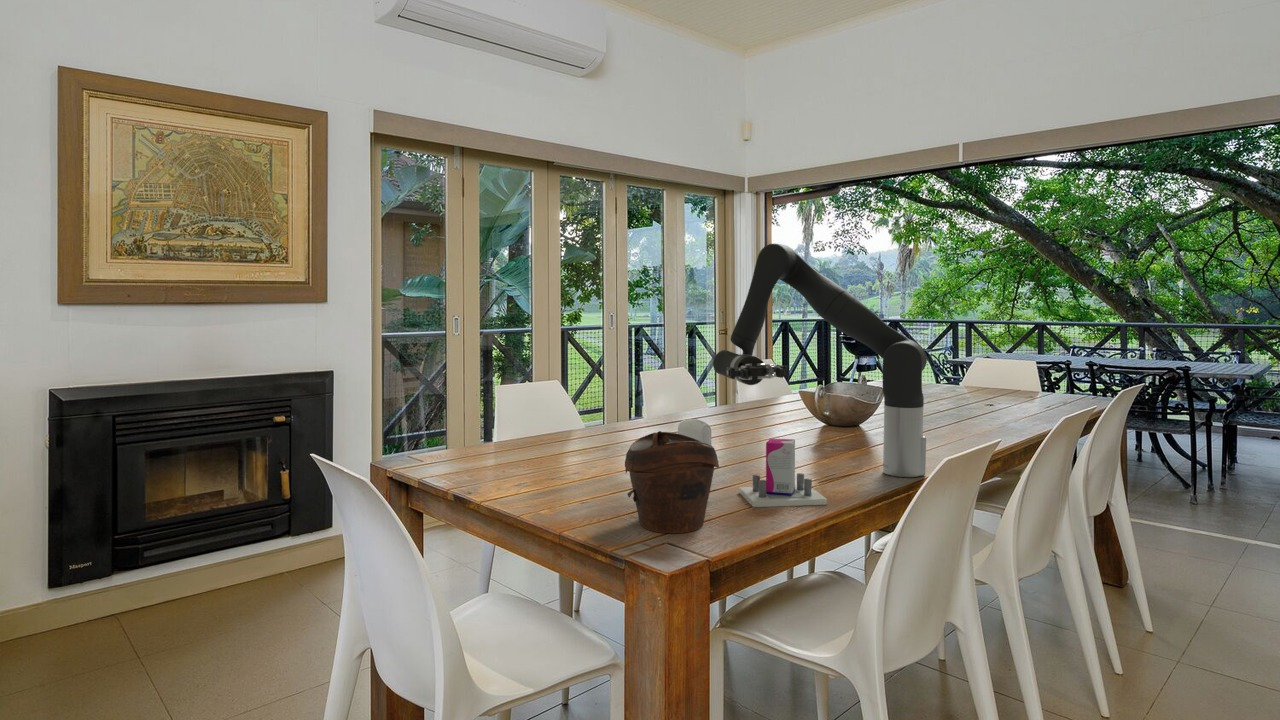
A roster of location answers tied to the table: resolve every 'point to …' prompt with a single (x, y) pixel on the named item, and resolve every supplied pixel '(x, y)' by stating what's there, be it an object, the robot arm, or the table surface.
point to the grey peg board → (799, 497)
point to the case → (670, 481)
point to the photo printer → (695, 430)
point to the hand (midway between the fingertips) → (764, 373)
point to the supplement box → (780, 466)
